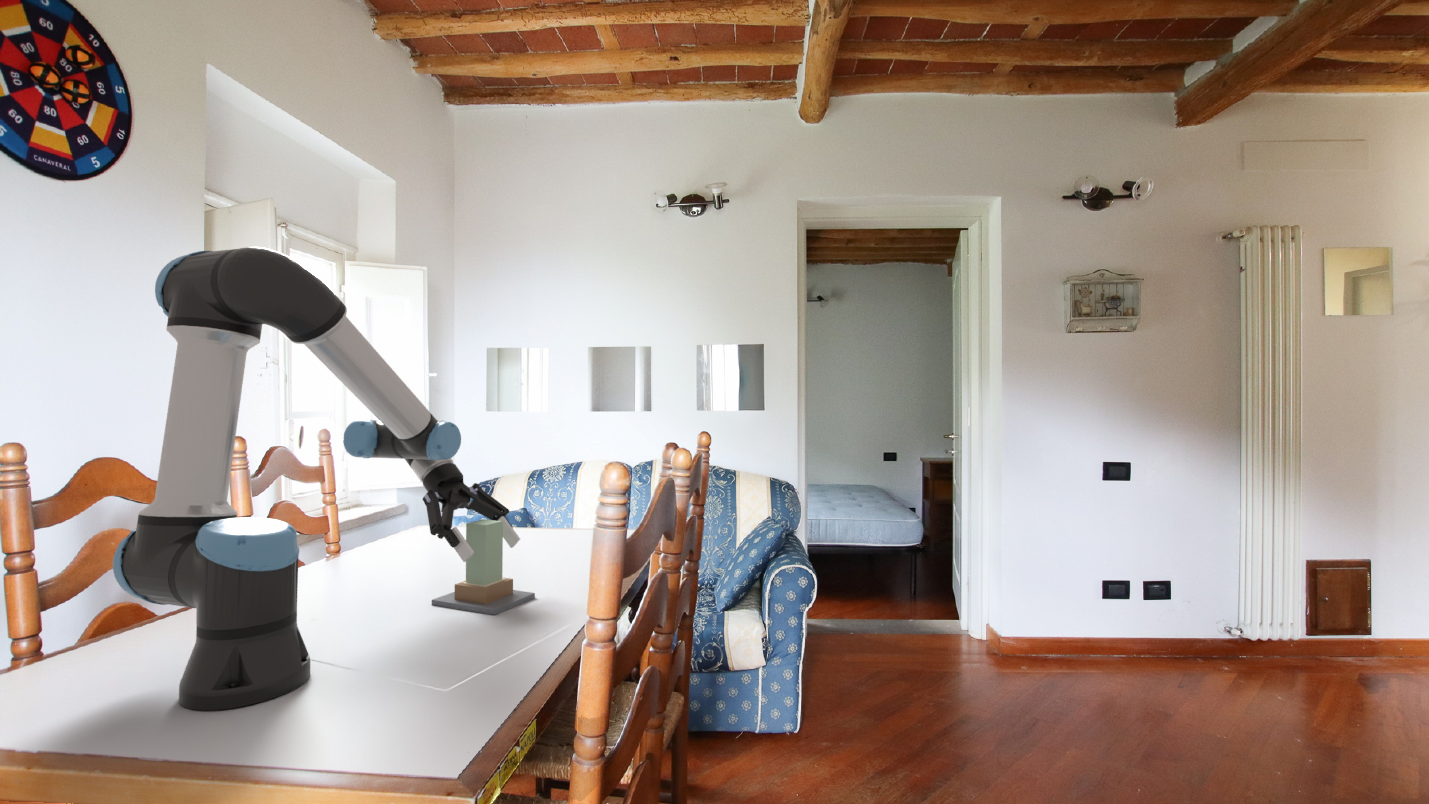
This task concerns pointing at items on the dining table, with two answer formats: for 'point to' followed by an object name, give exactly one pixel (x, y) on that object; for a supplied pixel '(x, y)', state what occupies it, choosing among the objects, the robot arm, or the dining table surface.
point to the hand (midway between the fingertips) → (493, 550)
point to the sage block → (484, 551)
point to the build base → (487, 607)
